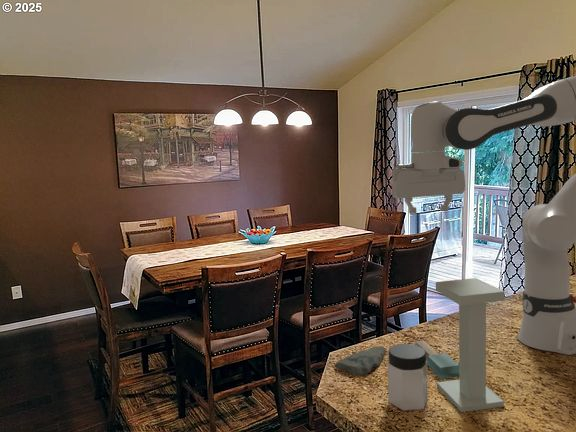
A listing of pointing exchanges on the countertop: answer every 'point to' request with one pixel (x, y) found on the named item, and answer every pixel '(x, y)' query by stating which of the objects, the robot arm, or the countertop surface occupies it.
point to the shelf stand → (471, 344)
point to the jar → (407, 377)
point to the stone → (362, 361)
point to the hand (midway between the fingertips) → (428, 212)
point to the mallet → (439, 362)
